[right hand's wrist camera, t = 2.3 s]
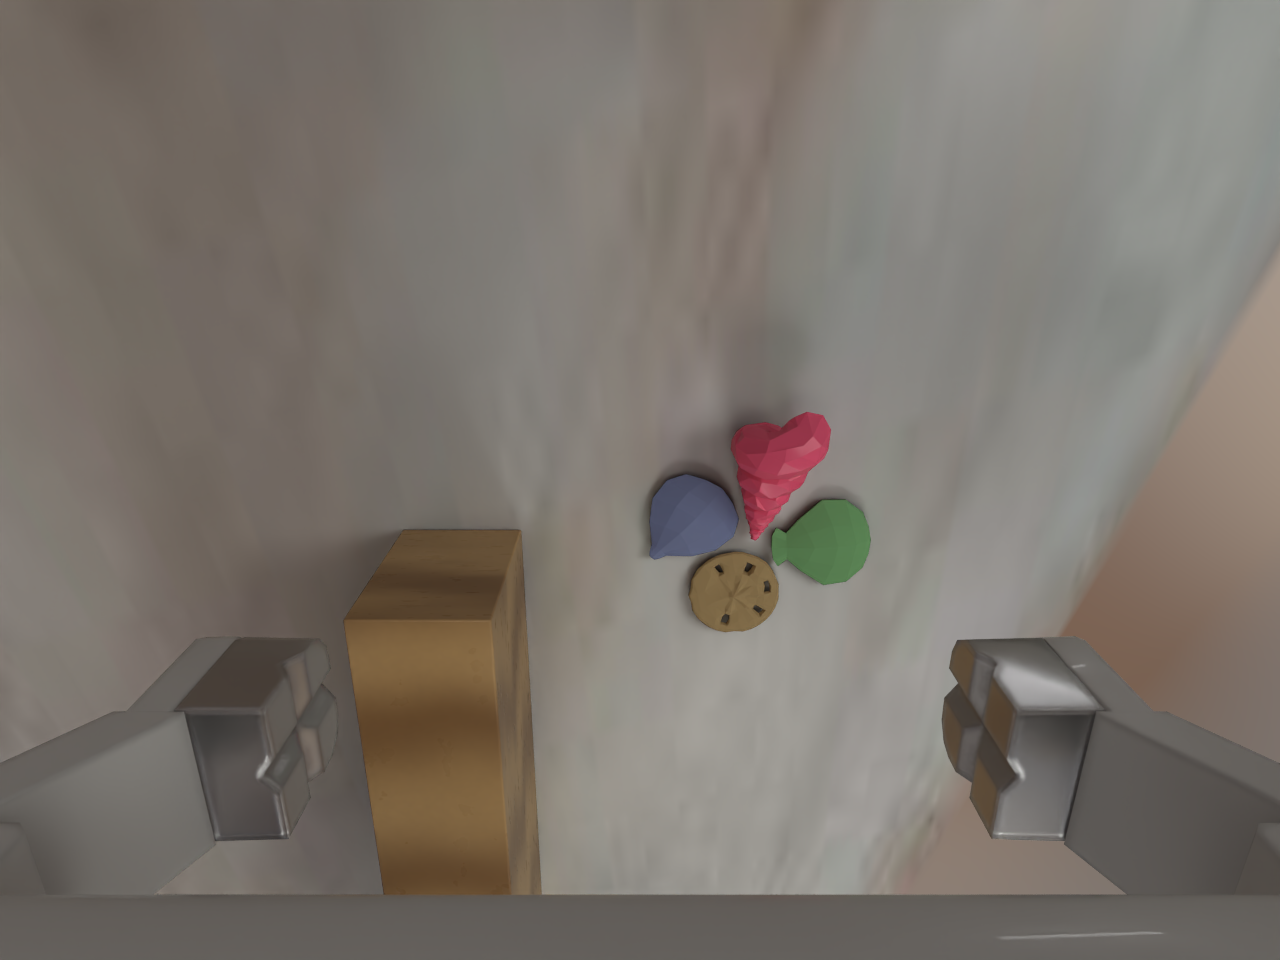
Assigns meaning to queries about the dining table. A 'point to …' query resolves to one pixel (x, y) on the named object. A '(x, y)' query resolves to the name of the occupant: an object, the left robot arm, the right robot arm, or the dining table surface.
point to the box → (448, 714)
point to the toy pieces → (758, 524)
